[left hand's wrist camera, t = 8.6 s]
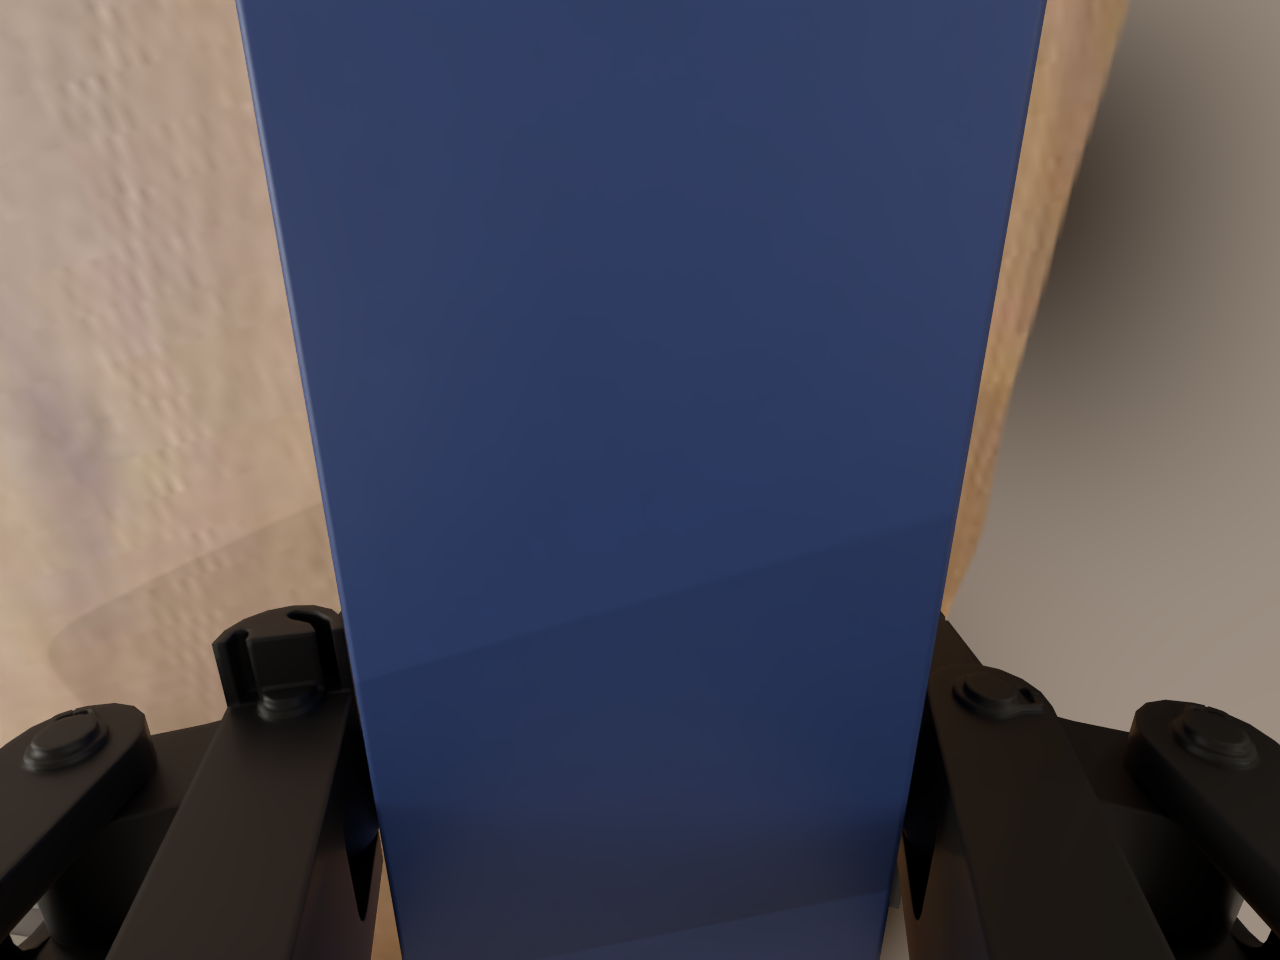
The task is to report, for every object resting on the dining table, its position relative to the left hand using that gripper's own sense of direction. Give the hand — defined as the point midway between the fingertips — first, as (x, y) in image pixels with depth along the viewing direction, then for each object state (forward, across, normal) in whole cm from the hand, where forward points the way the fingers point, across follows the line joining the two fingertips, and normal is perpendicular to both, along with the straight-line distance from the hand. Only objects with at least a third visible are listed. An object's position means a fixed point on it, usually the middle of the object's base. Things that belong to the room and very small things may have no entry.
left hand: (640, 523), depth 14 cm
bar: (+1, 0, -10) cm, 10 cm away
